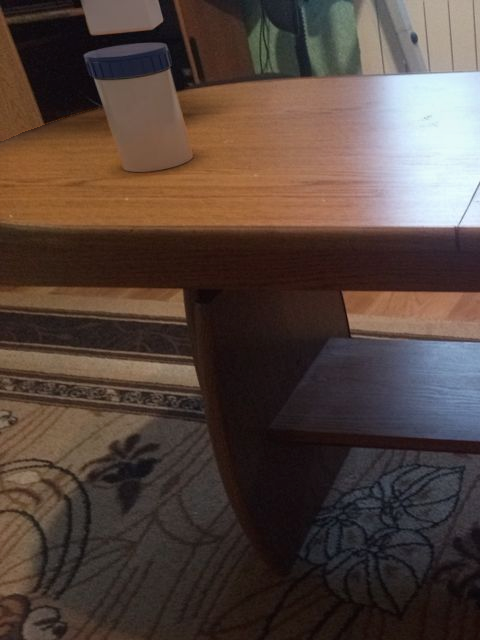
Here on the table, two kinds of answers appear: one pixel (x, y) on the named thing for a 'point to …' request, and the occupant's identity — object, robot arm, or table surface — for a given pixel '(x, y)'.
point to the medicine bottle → (121, 15)
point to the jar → (145, 121)
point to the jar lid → (128, 60)
